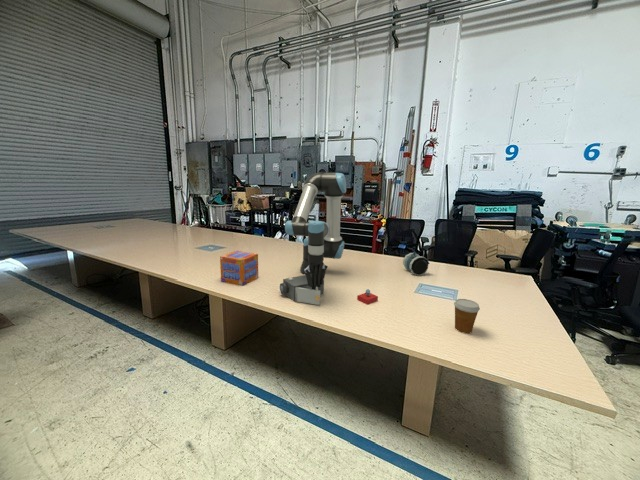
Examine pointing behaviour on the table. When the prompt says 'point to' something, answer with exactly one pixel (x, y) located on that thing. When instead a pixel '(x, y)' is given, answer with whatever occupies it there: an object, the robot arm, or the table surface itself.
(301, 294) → the side door
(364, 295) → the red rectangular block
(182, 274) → the table surface
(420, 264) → the gadget
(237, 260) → the game box
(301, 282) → the camera body
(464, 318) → the disposable coffee cup
